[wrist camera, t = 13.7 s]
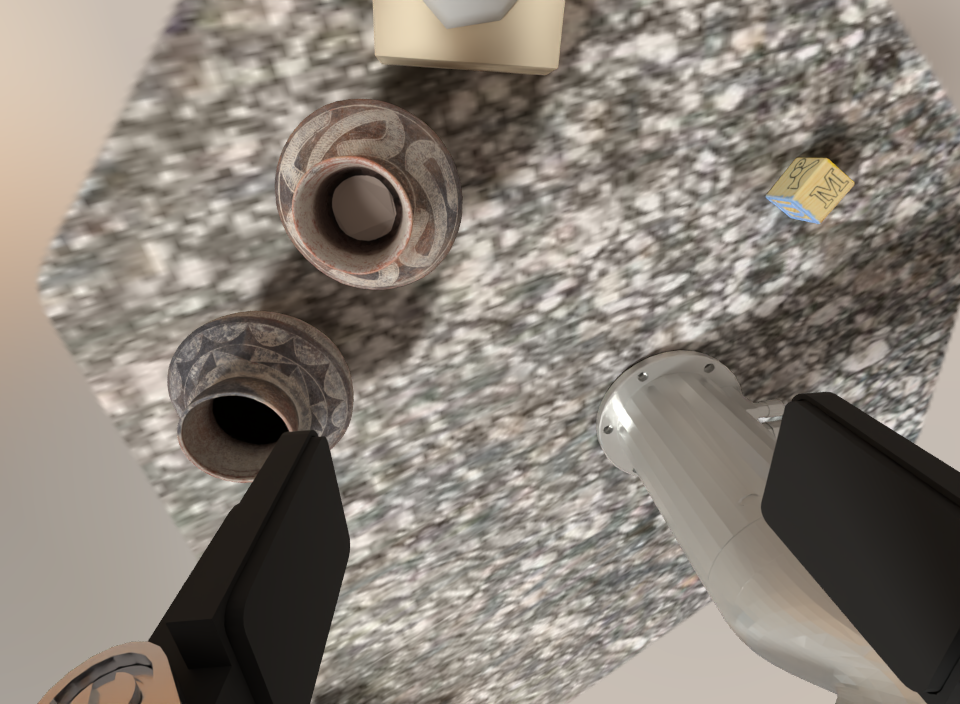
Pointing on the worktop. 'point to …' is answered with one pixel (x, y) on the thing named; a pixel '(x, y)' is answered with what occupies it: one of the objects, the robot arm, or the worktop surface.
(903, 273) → the worktop surface
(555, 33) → the maple block
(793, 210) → the alphabet block
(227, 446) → the pottery
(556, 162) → the worktop surface
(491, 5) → the flask
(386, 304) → the worktop surface
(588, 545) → the worktop surface
